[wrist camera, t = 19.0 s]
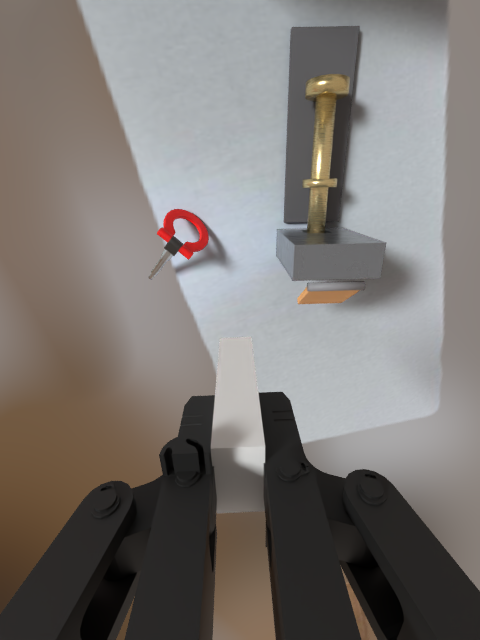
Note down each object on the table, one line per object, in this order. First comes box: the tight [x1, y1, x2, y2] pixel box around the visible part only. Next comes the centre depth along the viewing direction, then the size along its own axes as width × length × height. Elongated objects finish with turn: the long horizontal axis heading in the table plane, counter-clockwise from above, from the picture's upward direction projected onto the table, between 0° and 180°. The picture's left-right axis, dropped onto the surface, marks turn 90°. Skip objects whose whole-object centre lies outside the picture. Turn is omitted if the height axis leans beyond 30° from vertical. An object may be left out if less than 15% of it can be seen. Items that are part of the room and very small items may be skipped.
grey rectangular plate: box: [276, 228, 386, 281], centre depth 40 cm, size 4×10×14 cm, turn 91°
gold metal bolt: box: [302, 74, 350, 233], centre depth 39 cm, size 18×5×5 cm, turn 1°
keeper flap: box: [297, 281, 365, 304], centre depth 37 cm, size 1×6×8 cm
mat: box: [284, 26, 359, 223], centre depth 40 cm, size 22×8×1 cm, turn 1°
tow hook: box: [149, 209, 209, 280], centre depth 45 cm, size 7×10×7 cm
